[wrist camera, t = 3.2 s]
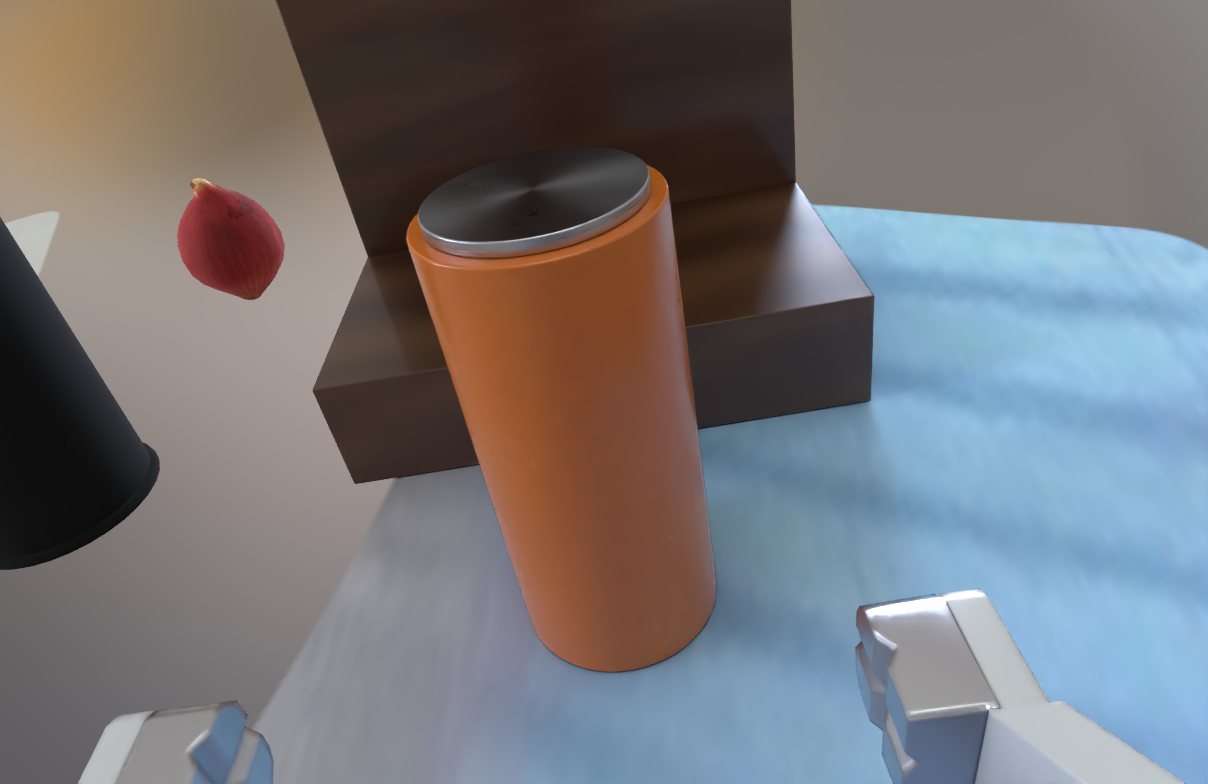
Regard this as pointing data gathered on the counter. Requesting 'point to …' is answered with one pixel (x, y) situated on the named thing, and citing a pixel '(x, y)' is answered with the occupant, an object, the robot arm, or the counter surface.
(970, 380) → the counter surface
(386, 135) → the shelf
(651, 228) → the can
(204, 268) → the onion
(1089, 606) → the counter surface
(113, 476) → the aerosol can
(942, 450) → the counter surface
